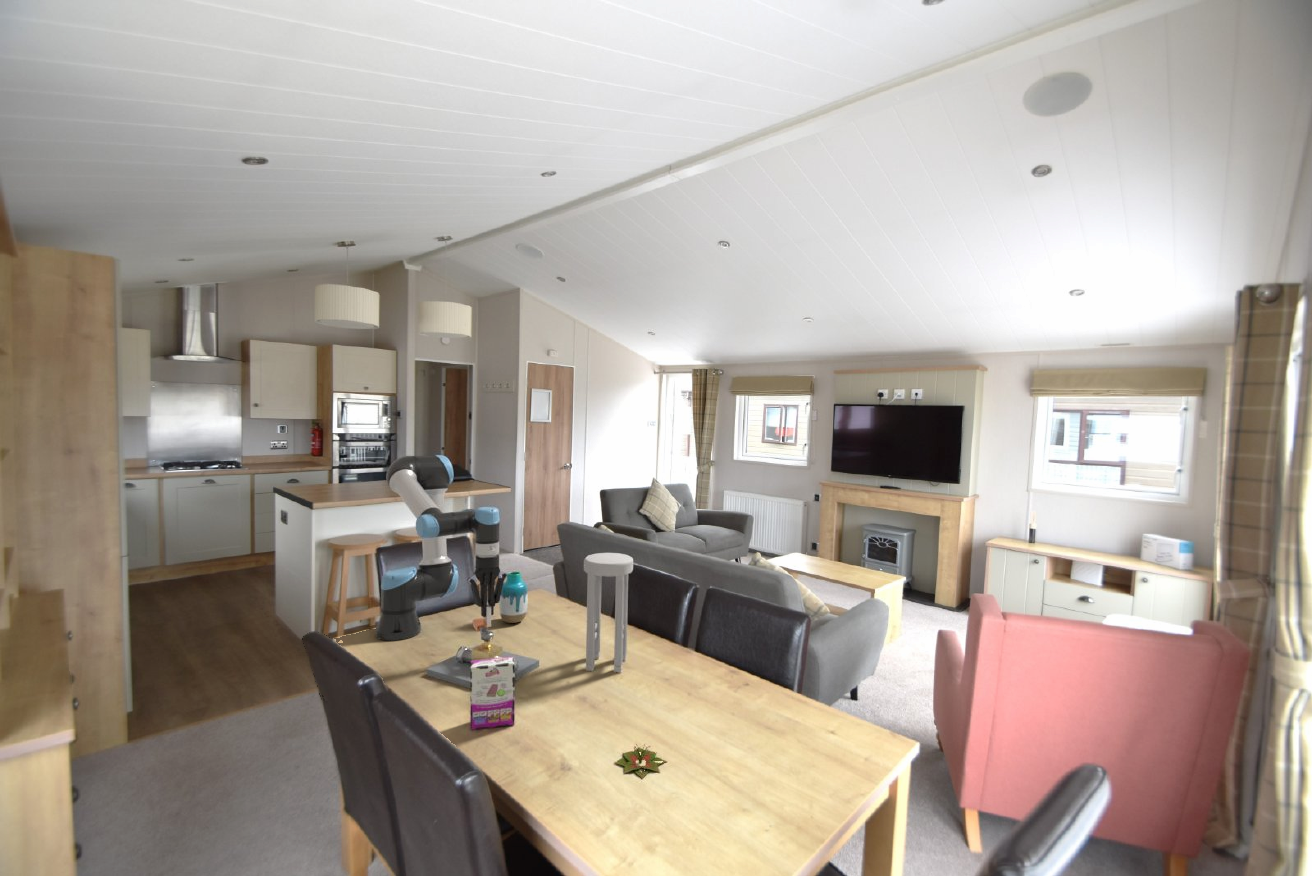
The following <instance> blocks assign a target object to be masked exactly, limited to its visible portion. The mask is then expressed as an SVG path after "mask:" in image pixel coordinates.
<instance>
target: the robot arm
mask: <svg viewBox="0 0 1312 876" xmlns="http://www.w3.org/2000/svg"><path fill="white" fill-rule="evenodd" d="M385 476H386V482H387V485H388V486H389V487H388V488H390V489H391V491H392V492H394V493H396V494H398V495H399V497H400V498H401V499H402V501H403V502H404V504H405V505H406V506H407V508H408V509H409V510H410V512H411V513H412V515H413V516H414V517H415V518H416V521H415V530H416V534H417V536H418V537H419V538H420V539H421V541H422V542H421V543H422V544H421V547H422V559H421V561H420V562H419V563H418V569H417V567H415V566H413V565H406V566H398V567H395V568H392V569H390V570H387V571H385V573H383V574H382V576H381V585H380V590H381V592H380V593H381V595H380V596H381V598H380V599H381V600H380V601H381V602H380V608H381V609H380V617H379V620H378V623H377V626H376V629H375V637H376V638H377V639H378V638H380V639H379V640H381V639H384V640H383V641H390V640H391V641H399V640H398V639H402V640H406V638H407V639H410V638H413V637H415V635H416V636H418V634H420V633H421V632H422V624H421V622H420V619H419V615H418V613H417V602H421V601H427V600H432V599H436V598H444V597H447V596H451V595H452V594H453V593H454V592H455V590H456V589H457V586H458V582H459V572H458V571H459V570H458V567H457V565H455V564H454V563H452V558H450V557H449V556H448V554H447V553H448V550H447V536H457V535H464V534H474V535H475V546H474V547H475V550H474V551H475V552H474V553H475V555H476V556H475V561H474V562H475V564H474V565H475V571H474V572H473V575H472V576H471V577H468V578H467V582H468V584H469V585H470V588H471V592H472V597H473V600H474V604H475V606H477V607H479V608H480V615H481V617H482V618H483V619H484V621H485V622H486V624H487V628H489V627H490V628H491V627H492V616H493V615H494V610H495V609H494V607H496V604H500V596H501V592H502V587H503V583H505V581H506V579H507V573H506V572H503V571H501V569H500V555H499V553H500V521H501V520H500V510H499V509H498V508H497V507H495V506H483V507H478V508H477V509H475V508H465V509H463V510H461V511H450V512H446V509H445V508H446V506H445V493H446V492H447V491H448V489H449V485H451V484H452V483H453V481H454V477H455V476H454V468H453V464H452V462H451V461H450V459H449V458H448V457H447V456H445V455H440V454H428V455H427V454H425V455H424V454H423V455H404V456H401V457H398V458H397V459H395V460H394V461H393V462H392V463H391V464H390V465H389V466H388V469H387V471H386V474H385ZM477 580H478V582H479V585H480V589H479V587H478V585H477ZM479 590H480V593H479ZM420 631H421V632H420Z"/></svg>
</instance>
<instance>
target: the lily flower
mask: <svg viewBox="0 0 1312 876" xmlns="http://www.w3.org/2000/svg"><path fill="white" fill-rule="evenodd" d="M635 745H636V746H635ZM635 745H634V746H633V749H634V750H631V751H626V752H622V755H623V756H624V757H622V758H620V759H618V760H616V761H614V762H613V764H617V765H620V766H623V767H624V772H623V774H626V773H629V772H632V771H633V772H635V774H637V776H639V777H640V778H641V779H642V780H644V779H643V778H644V777H645V776H646V775H647V774H648V773H649V771H650V770H651V771H654V772H658V773H660V768H659V765H661V764H664V763H666V762H667V763H668V761H667V760H665V759H662V758H661V757H656V755H657V752H656V751H651V750H649V749H648V748H650V747H651V745H648V746H647V747H646V748H645V749H644V747H645V745H646V743H644V744H643V747H641V746H638V744H637V743H635ZM639 752H641V755H640V753H639ZM655 752H656V753H655ZM637 761H638V763H639V764H642V762H643V761H644V762H645V761H646V762H645V765H637ZM655 761H663V762H662V763H658V762H655ZM641 768H643V770H645V771H643V770H642V771H641V770H639V769H641Z"/></svg>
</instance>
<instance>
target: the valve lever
mask: <svg viewBox="0 0 1312 876" xmlns="http://www.w3.org/2000/svg"><path fill="white" fill-rule="evenodd" d="M472 626H473V627H474V629H475V631H476V632H479V633H480V640H482V641H483V642H484V641H488V640H490V641H492V640H493V639H494V632H493V631H490V630H489V629H488V627H487V624H486V622H485V621H484V617H482V618H476V619H472Z"/></svg>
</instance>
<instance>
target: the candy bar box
mask: <svg viewBox="0 0 1312 876" xmlns="http://www.w3.org/2000/svg"><path fill="white" fill-rule="evenodd" d="M515 682H516V681H515V664H514V657H506V658H495V659H485V660H475V661H471V667H470V688H469V691H470V695H469V696H470V698H469V699H470V701H469V702H470V703H469V704H470V705H469V706H470V711H469V714H470V717H469V718H470V720H469V721H470V725H469V727H470V731H475V730H476V731H478V730H484V729H491V728H500V727H507V726H508V727H509V726H513V725H514V726H515V720H516V719H515V718H516V717H515V708H516V707H515V702H516V701H515V700H516V699H515V696H516V695H515V694H516V693H515V689H516V688H515Z"/></svg>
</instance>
